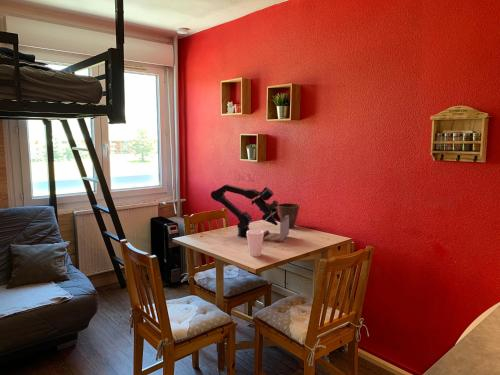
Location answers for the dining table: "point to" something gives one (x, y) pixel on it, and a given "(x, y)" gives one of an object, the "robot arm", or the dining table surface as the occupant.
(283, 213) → the plant pot
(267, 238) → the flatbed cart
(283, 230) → the tailgate
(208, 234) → the dining table surface
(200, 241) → the dining table surface
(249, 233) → the foam cup
